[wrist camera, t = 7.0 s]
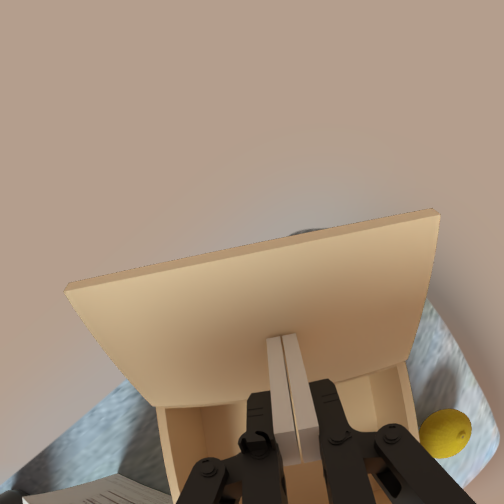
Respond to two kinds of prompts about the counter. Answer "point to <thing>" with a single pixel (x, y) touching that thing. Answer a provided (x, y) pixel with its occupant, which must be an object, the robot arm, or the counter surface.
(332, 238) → the carton flap
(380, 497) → the carton
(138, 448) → the counter surface
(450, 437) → the lemon
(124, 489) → the supplement box
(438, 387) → the counter surface
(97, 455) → the counter surface
